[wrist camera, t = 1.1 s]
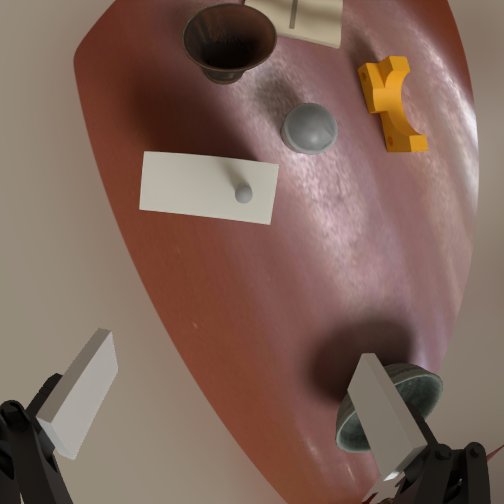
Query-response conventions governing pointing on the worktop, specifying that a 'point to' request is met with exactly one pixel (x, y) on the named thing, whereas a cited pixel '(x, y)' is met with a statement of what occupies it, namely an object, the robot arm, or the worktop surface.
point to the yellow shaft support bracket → (390, 103)
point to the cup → (229, 40)
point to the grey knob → (309, 129)
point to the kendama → (386, 501)
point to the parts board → (304, 19)
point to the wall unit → (208, 186)
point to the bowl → (410, 389)
